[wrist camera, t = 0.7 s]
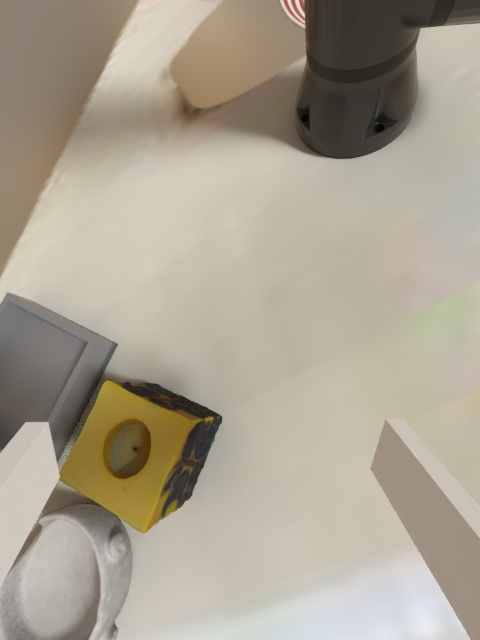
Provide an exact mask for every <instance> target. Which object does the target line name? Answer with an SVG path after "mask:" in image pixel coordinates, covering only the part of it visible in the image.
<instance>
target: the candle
mask: <svg viewBox="0 0 480 640" xmlns="http://www.w3.org/2000/svg"><path fill="white" fill-rule="evenodd" d="M221 423H222V416H220V415H219V414H217V413H215V412H213V411H211V410H209V409H208V408H206V407H204V406H200V405H199V404H197V403H195V402H192V401H190V400H189V399H186V398H185V397H183V396H179V395H177V394H174V393H172V392H171V391H168V390H166V389H164V388H162V387H161V386H160V385H158V384H150V383H143V384H130V383H129V382H126V383H123V384H121V383H117V382H114V381H110V380H106V381H105V382H104V383H103V384H102V387H101V389H100V392H99V394H98V397H97V400H96V402H95V405H94V407H93V409H92V411H91V412H90V414H89V416H88V418H87V421H86V423H85V425H84V427H83V429H82V431H81V433H80V435H79V437H78V439H77V441H76V443H75V445H74V447H73V448H72V450H71V452H70V454H69V456H68V458H67V460H66V462H65V464H64V466H63V468H62V470H61V472H60V473H59V474H60V478H59V480H60V481H62V482H63V483H65V484H66V485H68V486H70V487H72V488H73V489H75V490H76V491H78V492H80V493H81V494H83V495H85V496H86V497H88V498H90V499H91V500H93V501H95V502H96V503H98V504H99V505H101V506H102V507H104V508H106V509H107V510H109V511H110V512H112V513H113V514H115V515H116V516H118V517H119V518H121V519H122V520H123V521H125V522H126V523H128V524H129V525H130V526H132V527H133V528H135V529H137V530H138V531H140V532H142V533H145V532H147V531H148V530H149V529H150V528H151V527H152V526H153V525H155V524H157V523H158V522H159V520H161V519H164V518H165V517H166V516H167V515H169V514H170V513H172V512H174V511H176V510H177V508H180V507H182V505H183V504H184V502H185V501H187V500H188V499H189V498H190V497H191V496H192V491H193V489H194V486H195V484H196V483H197V479H198V476H199V474H200V472H201V469H202V468H203V467H204V463H205V461H206V458H207V455H208V452H209V450H210V448H211V445H212V443H213V441H214V438H215V434H216V432H217V430H218V428H219V425H220V424H221Z"/></svg>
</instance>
